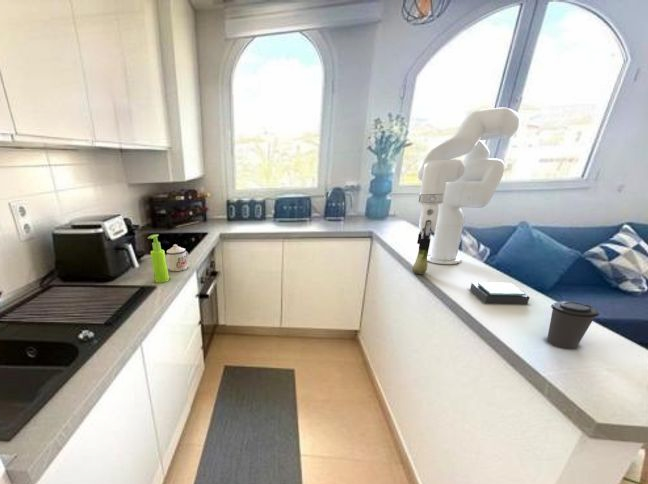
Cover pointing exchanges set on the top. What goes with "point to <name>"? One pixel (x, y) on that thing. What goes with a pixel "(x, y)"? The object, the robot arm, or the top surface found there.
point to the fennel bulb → (421, 262)
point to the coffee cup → (569, 323)
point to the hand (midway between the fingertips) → (422, 246)
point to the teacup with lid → (177, 258)
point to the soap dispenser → (158, 261)
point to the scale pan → (501, 289)
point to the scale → (497, 296)
